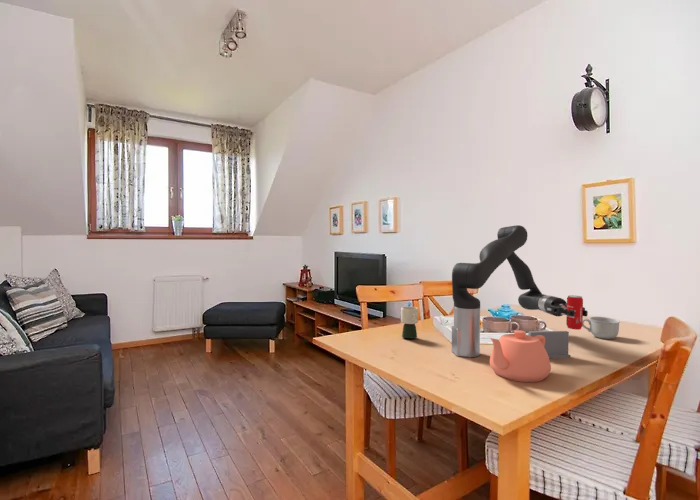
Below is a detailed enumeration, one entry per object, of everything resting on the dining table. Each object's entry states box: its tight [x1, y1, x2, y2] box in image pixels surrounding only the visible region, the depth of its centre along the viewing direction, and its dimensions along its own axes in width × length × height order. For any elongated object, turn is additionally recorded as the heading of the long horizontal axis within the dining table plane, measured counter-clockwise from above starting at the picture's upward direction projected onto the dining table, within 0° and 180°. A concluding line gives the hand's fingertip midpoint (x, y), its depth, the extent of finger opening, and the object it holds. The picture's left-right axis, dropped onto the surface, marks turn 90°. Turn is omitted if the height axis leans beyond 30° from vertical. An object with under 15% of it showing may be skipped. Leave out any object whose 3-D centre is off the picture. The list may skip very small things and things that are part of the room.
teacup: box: [582, 316, 621, 340], centre depth 163 cm, size 14×11×8 cm
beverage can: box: [566, 295, 584, 331], centre depth 141 cm, size 5×5×12 cm
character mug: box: [400, 306, 419, 340], centre depth 160 cm, size 11×7×13 cm, turn 14°
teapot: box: [489, 329, 552, 383], centre depth 117 cm, size 25×17×13 cm
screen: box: [527, 330, 571, 359], centre depth 135 cm, size 14×4×9 cm, turn 94°
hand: (580, 313), depth 139 cm, fingers closed on beverage can, 4 cm apart
